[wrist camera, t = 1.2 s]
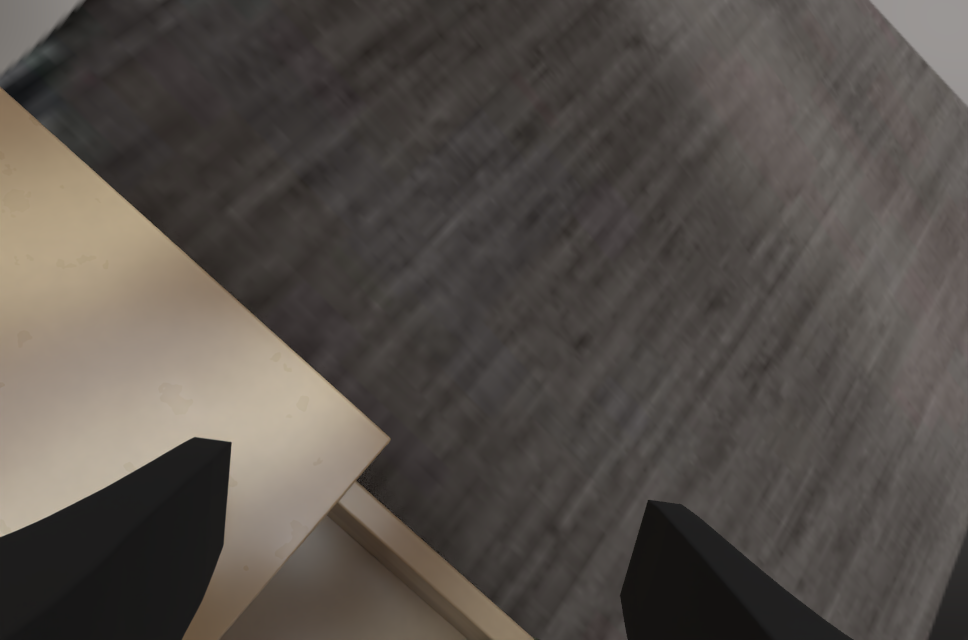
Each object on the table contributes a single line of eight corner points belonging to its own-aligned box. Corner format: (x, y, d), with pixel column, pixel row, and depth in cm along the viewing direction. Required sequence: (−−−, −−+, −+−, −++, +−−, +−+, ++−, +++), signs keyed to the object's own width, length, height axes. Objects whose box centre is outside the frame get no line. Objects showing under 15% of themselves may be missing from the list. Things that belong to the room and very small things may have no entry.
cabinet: (345, 460, 27) (392, 439, 19) (70, 772, 22) (-18, 915, 14) (49, 196, 26) (-29, 59, 18) (-312, 461, 21) (-637, 429, 13)
